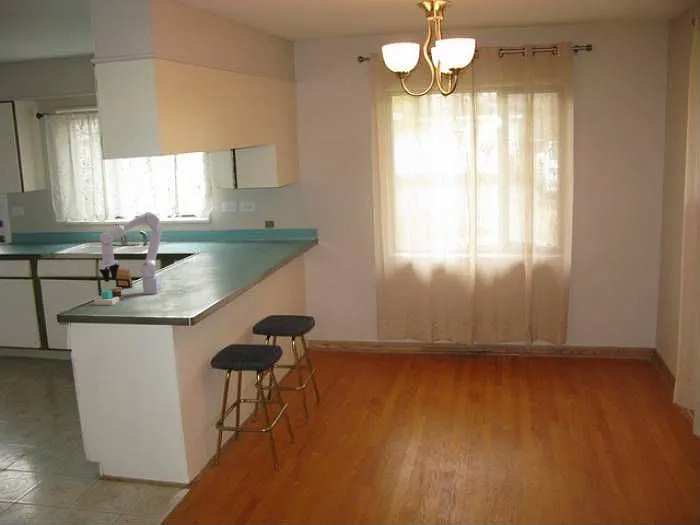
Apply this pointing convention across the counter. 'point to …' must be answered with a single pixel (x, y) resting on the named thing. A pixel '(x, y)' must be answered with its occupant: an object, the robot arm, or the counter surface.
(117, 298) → the notched board
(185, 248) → the counter surface
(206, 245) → the counter surface
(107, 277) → the robot arm
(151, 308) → the counter surface
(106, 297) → the tab peg
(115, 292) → the bobbin
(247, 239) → the counter surface
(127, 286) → the ammunition clip
